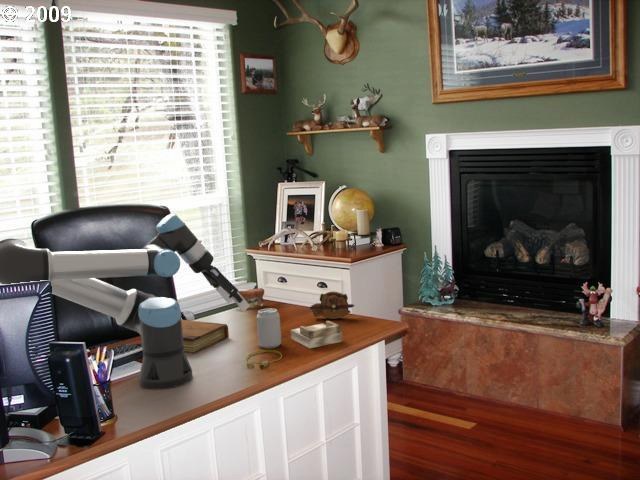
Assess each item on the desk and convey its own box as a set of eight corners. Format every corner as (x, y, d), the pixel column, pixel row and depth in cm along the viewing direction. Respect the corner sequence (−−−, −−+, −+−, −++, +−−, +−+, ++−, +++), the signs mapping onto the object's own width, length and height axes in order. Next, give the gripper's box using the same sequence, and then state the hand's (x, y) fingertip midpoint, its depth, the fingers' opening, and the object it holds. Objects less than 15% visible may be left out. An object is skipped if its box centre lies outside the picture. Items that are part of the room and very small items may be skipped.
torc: (230, 366, 223) (229, 360, 223) (262, 351, 236) (262, 345, 236) (261, 372, 217) (260, 365, 216) (292, 356, 229) (292, 350, 229)
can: (254, 346, 241) (251, 310, 239) (271, 340, 246) (269, 306, 244) (268, 350, 235) (265, 314, 233) (286, 345, 240) (283, 309, 238)
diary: (229, 339, 253) (227, 323, 252) (194, 356, 237) (193, 338, 236) (177, 333, 264) (176, 317, 263) (141, 348, 248) (139, 332, 247)
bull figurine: (231, 307, 295) (230, 287, 294) (265, 304, 298) (263, 284, 296) (232, 310, 291) (230, 290, 290) (266, 306, 293) (264, 286, 292)
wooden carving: (310, 321, 268) (308, 294, 266) (311, 317, 272) (309, 291, 270) (355, 319, 266) (353, 293, 264) (355, 316, 270) (354, 290, 268)
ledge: (309, 348, 235) (308, 331, 234) (291, 338, 247) (290, 322, 246) (342, 341, 240) (341, 325, 239) (322, 332, 252) (321, 316, 252)
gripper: (219, 253, 217) (262, 303, 225) (193, 243, 239) (233, 289, 247) (200, 270, 215) (244, 320, 223) (176, 259, 237) (217, 305, 245)
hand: (238, 304), depth 235 cm, fingers open, 13 cm apart
